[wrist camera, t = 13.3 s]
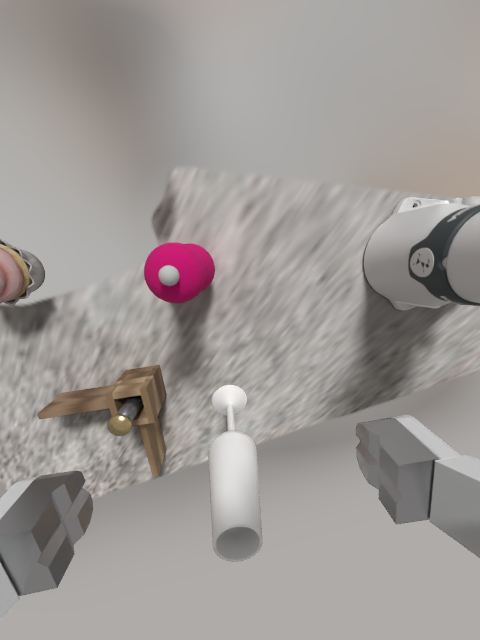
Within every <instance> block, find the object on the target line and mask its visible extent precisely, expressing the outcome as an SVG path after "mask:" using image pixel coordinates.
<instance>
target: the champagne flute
mask: <svg viewBox="0 0 480 640" xmlns="http://www.w3.org/2000/svg"><path fill="white" fill-rule="evenodd" d="M246 402H247V397H246V394H245V392H244V391H243V390H242V389H241V388H240V387H237V386H234V385H226V386H222V387H220V388H219V389H218V390H217V391H216V392H215V393H214V395H213V398H212V404H213V407H214V409H215V410H216V411H217V412H218V413H220V414H222V415H225V416H227V429H228V431H226V432H224V433H222V434H220V435H219V436H218V437H217V438H216V439H215V440H214V441H213V442H212V444H211V446H210V449H209V453H208V458H209V477H210V497H211V514H212V533H213V548H214V551H215V553H216V554H217V555H218V556H219V557H220V558H222V559H225V560H227V561H243V560H246V559H249V558H251V557H252V556H254V555H255V554H256V553H257V552H258V551H259V550H260V548H261V546H262V528H261V513H260V498H259V484H258V483H259V482H258V468H257V453H256V446H255V444H254V442H253V441H252V439H251V438H250V437H249V436H247V435H246V434H245V433H242V432H240V431H236V430H235V425H234V415H236V414H238V413H240V412H241V411H242V410H243V409H244V407H245V406H246Z"/></svg>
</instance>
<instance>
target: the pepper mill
mask: <svg viewBox="0 0 480 640" xmlns="http://www.w3.org/2000/svg"><path fill="white" fill-rule="evenodd" d="M214 273H215V266H214V262H213V259H212V257H211V256H210V254H209V253H208V252H207V251H206V250H205V249H204V248H202V247H200V246H198V245H195V244H181V243H166V244H163V245H160V246H159V247H157V248H155V249H154V250H153V251H152V252H151V253H150V255H149V256H148V258H147V260H146V263H145V267H144V276H145V280H146V283H147V285H148V287H149V289H150V290H151V291H152V292H153V294H154V295H156V296H157V297H158V298H160V299H162V300H164V301H166V302H170V303H183V302H186V301H189V300H191V299H193V298H194V297H195V296H197V295H198V294H199V293H200V292H201V291H203V290H204V289H206V288H207V287H208V286H209V285H210V283H211V282H212V280H213V278H214Z"/></svg>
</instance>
